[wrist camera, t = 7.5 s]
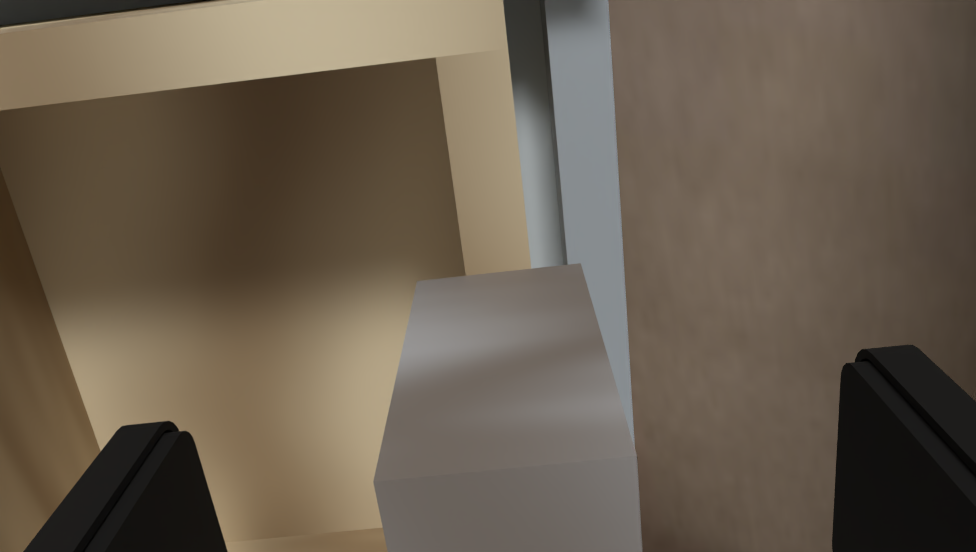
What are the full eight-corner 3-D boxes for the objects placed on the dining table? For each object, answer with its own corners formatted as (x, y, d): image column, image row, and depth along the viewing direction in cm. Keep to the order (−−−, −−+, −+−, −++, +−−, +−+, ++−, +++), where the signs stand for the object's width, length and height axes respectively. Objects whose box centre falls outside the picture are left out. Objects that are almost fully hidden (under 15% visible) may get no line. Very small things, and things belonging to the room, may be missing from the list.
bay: (581, -136, 14) (657, -206, 8) (625, 527, 20) (692, 810, 13) (-576, 17, 15) (-1359, 68, 9) (-231, 607, 21) (-558, 907, 14)
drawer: (530, -42, 14) (608, -26, 5) (581, 514, 18) (672, 1075, 9) (-64, 33, 14) (-1019, 177, 5) (125, 557, 19) (-217, 1129, 10)
